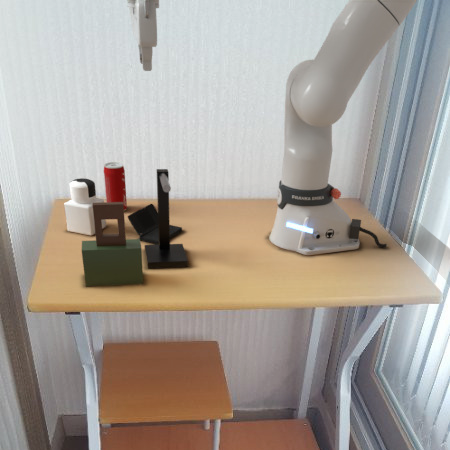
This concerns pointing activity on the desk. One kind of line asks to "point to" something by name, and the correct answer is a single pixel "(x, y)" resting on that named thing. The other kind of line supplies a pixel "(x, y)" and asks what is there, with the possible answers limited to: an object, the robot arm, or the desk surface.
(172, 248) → the peg stand
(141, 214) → the handheld gaming console
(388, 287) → the desk surface
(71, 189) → the medicine bottle
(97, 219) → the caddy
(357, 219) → the robot arm
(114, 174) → the soda can
